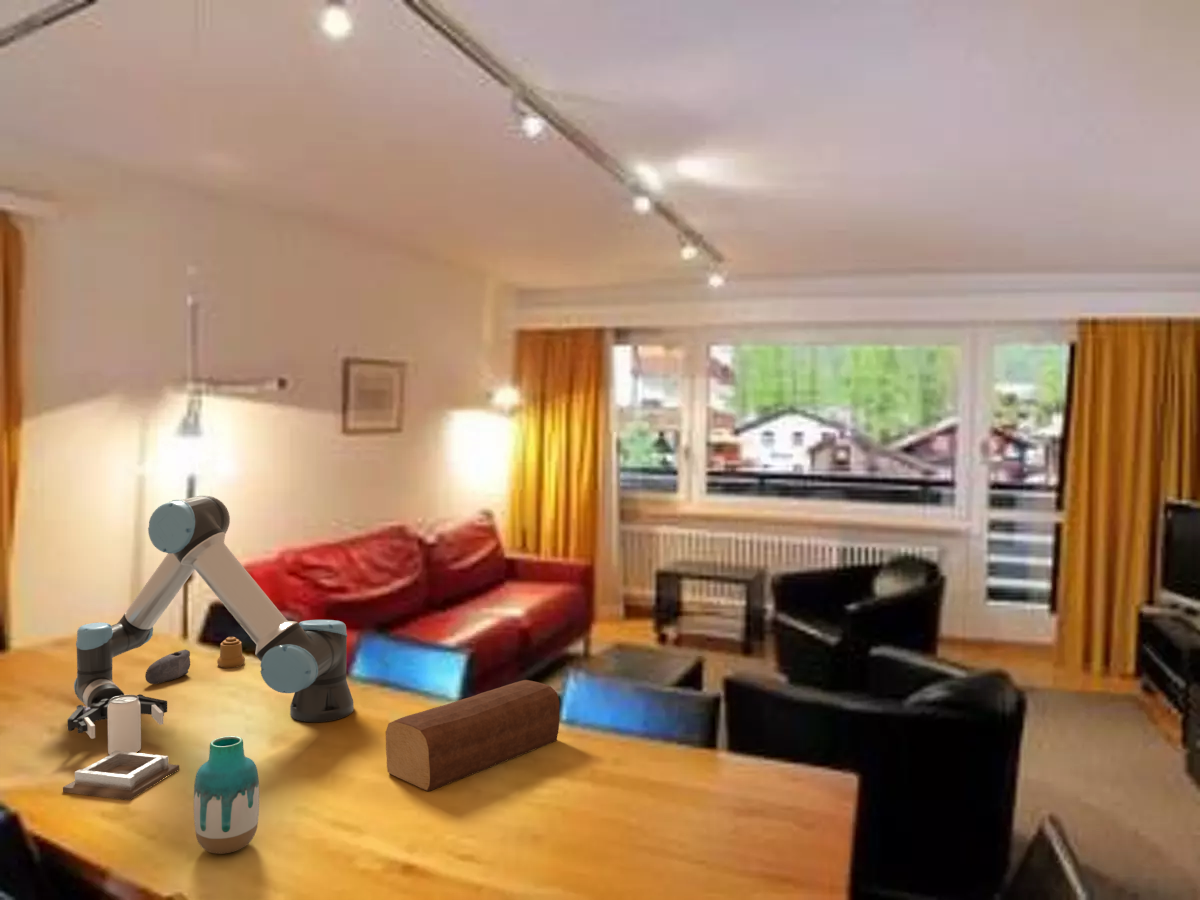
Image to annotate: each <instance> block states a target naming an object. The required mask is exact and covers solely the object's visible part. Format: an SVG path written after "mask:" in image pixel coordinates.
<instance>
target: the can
mask: <svg viewBox="0 0 1200 900" xmlns="http://www.w3.org/2000/svg"><path fill="white" fill-rule="evenodd" d="M141 716H142V714H141V708H140V702H139V700H138V696H137V695H136V694H125V695H121V696H116V697H113V698H111V699H110V703H109V705H108V719H107V751H108V753H107V754H108V756H109V755H111V754H112V752H114V751H125V752H134V753H136V752H138V751H139V752H140V751H141V749H142V726H141V725H142V721H141V718H142V717H141ZM139 752H138V753H139Z"/></svg>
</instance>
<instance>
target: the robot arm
mask: <svg viewBox="0 0 1200 900" xmlns="http://www.w3.org/2000/svg"><path fill="white" fill-rule="evenodd" d="M230 519H231V518H230V513H229V510H228V508H227V506H226V505H225V503H224V502H223V501H222V500H219V499H218V498H216V497H214V496H210V495H198V496H197V495H196V496H193V497H187V498H183V499H173V500H171V501H169V502H165V503H163V504H161V505H158V507H157V508H156V509H155V510H154V511H153V512H152V513H151V516H150V518H149V522H148V528H147V529H148V530H147V531H148V537H149V539H150V541H151V543H152V546H154V547H155V548H156V549H157V550H158V551H160V552H162V553H166V555H165V557H164V558H163V559H162V561H161V562H160V563H159V565H158V567H157V568H156V569H155V571H154V572H153V574H152V575H151V576H150V578H149V579H148V581H147V582H146V583H145V584H144V586H143V587H142V588H141V590H140V592H139V593H138V595H136V597H135V599H133V601H132V603H131V604H130V606H129V607H128V608H127V610H126V611H125V613H124V614H123V615H122V617H121V618H120V619H119V621H118V622H117V623H115V624H113V625H111V624H110V623H109V622H108V623H107V622H92V623H87V624H86V623H85V624H83V625H80V627H78V629H77V632H76V633H77V634H76V643H75V646H76V669H77V670H76V671H77V672H76V678H75V680H74V683H73V689H74V693H75V695H76V697H77V698H78V700H80V701H81V702H82V703H83V705H82V704H78V705H76V710H74V711H73V713H72V714H71V715H70V716H69V717H68V718H67V732H71V731H74V730H75V729H77V734H83V733H86V734H87V735H88V736H89V738H90V739H92V740H93V739H96V725H95V724H94V723H95V722H97V721H102V720H105V721H106V720H108V705H109V703H110V699H111V698H113V697H116V696H121V695H126V694H125V693H124V692H123V691H122V689H120V688H119V686H118V685H117V684H116V683H115V682H114V681H113V658H115V657H117V656H120V655H122V654H124V653H126V652H130V651H132V650H134V649H137V648H140V647H142V646H144V644H146V643H148V642H149V641H150V640H151V639H152V637H153V633H154V626H155V625H156V623H157V622H158V621H159V619H161V618H160V617H161V616H162V615H163V613H165V611H166V610H167V608H168V606H169V605H170V604H171V603H172V601H173V600H174V598H175V597H176V596H177V595H178V594H179V592H180V591H181V589H182V588H183V586H184V585H185V583H186V582H187V581H188V579H189V578H190V577H191V575H192V574H193V573H194V571H196V573H197V574H198V575H199V576H200V577H201V579H202V580H203V581H204V583H205V584H206V585H207V586H208V587H209V589H211V591H212V592H213V594H214V595H215V596H216V597H217V598H218V600H219V601H220V603H222V604H223V606H224V607H225V608H226V609H227V611H228V612H229V613H230V615H231V616H233V618H234V619H235V621H236V622H237V623H238V625H240V626H241V628H242V629H243V630H244V631H245V632H246V633H247V635H248V637H250V640H252V641H253V642H254V643H255V656H256V657H257V659H258V660H259V661H260V669H261V670H260V675H261V678H262V679H263V681H264V683H265V684H266V685H267V686H268V687H269V688H270V689H272V690H274V691H276V692H278V693H281V694H293V696H292V701H291V702H290V706H289V707H290V709H289V710H290V711H289V715H290V718H292V719H294V720H297V721H299V722H307V723H324V722H331V721H337V720H340V719H342V718H346V717H348V716H350V715H351V714H352V713H353V712H354V698H353V695H352V693H351V690H350V687H349V683H348V681H347V649H348V647H347V646H348V645H347V644H348V643H347V642H348V641H347V637H348V634H347V626H346V624H345V623H344V622H343V621H340V620H334V619H309V620H302V621H300V622H298V621H292V620H288V619H287V618H286V617H285V616H284V615H283V614H282V612H281V610H279V609H278V608H277V606H276V605H275V604H274V603H273V601H272V600H271V599H270V598H269V596H268V595H267V594H266V592H265V591H264V590H263V589H262V588H261V586H260V585H259V584H258V583H257V581H256V580H255V579H254V578H253V577H252V576H251V574H250V573H249V572H248V571H247V570H246V568H245V567H244V566H243V564H242V563H241V562H240V561H239V559H238V558H237V557H236V556H235V555H234V554H233V553H232V551H231V549H229V547H228V546H227V544H225V540H226V539H225V538H226V534H227V531H228V530H229V527H230V523H231V522H230V521H231V520H230ZM136 696H138V700H139V702H140V708H141V715H149V716H150V715H151V718H152V719H153V720H155V722H156V723H157V724H158V725H164V717H165V713H167V712H168V700H164V699H159V698H155V697H150V696H145V695H144V694H137V695H136Z"/></svg>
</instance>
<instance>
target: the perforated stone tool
mask: <svg viewBox="0 0 1200 900" xmlns="http://www.w3.org/2000/svg"><path fill="white" fill-rule="evenodd" d="M190 656H191V652H190V650H188V649H181V650H179V651H175V652H171V653H169V654H166V655H164V656H162V657H161V658H159V659H157V660H156V661H154V662H152V664H150V665H149V666H148V667H147V669H146V671H145V681H146V682H147V683H148V684H150V685H158V684H162V683H165V681H167V682H171V681H173V679H174V680H176V678H177V679H179V678H180V677H182V676H185V675H187V674H188V673H189V669H190V666H191V659H190Z"/></svg>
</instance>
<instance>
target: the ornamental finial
mask: <svg viewBox="0 0 1200 900" xmlns="http://www.w3.org/2000/svg"><path fill="white" fill-rule="evenodd" d="M242 643H243V642H242V641H241V640H240V639H239V638H237V637H235V636H228V637H226V638H225V639H224V640H223V641H222V642H221V643H220V648H219V649H220V650H219V657H218V658H217V660H216V662H217V665H218V666H219V667H220V668H223V669H224V668H225V669H231V668H238V667H241V666H243V665H244V663H246V662H245V661H246V657H245V656H244V655H243V646H242Z"/></svg>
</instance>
